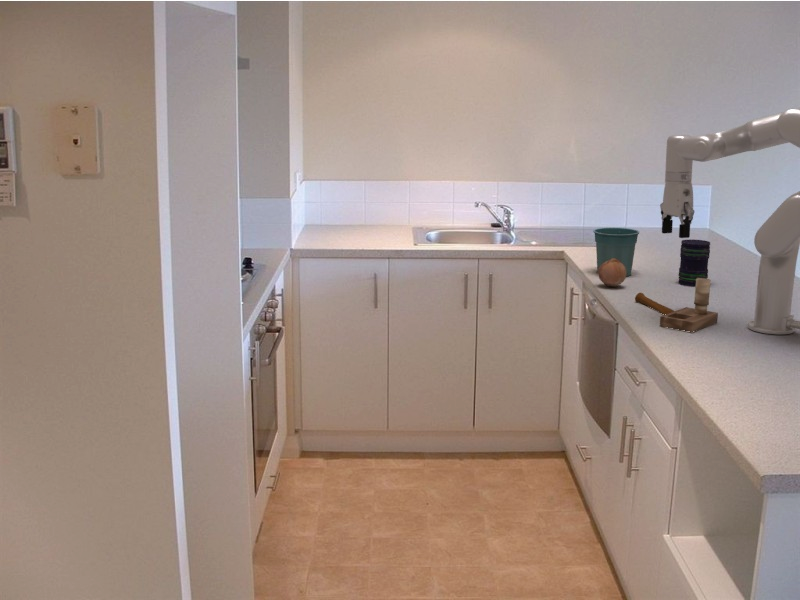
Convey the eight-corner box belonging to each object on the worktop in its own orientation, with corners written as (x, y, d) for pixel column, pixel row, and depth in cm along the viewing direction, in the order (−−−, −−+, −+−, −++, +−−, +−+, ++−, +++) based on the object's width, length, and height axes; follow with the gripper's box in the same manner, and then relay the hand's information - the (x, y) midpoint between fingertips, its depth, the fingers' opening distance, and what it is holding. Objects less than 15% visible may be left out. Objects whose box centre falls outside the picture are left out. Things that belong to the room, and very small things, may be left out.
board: (717, 322, 278) (718, 312, 277) (692, 332, 266) (693, 322, 265) (685, 316, 284) (686, 307, 284) (659, 326, 273) (660, 316, 272)
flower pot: (607, 280, 336) (609, 235, 332) (582, 271, 351) (584, 228, 347) (645, 277, 342) (649, 233, 338) (619, 268, 357) (622, 226, 353)
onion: (616, 283, 331) (618, 255, 328) (630, 289, 322) (632, 260, 320) (592, 285, 328) (593, 256, 325) (606, 290, 319) (608, 261, 317)
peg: (710, 313, 276) (713, 279, 274) (704, 315, 274) (706, 281, 271) (697, 310, 279) (699, 277, 277) (690, 313, 276) (693, 279, 274)
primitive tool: (681, 315, 287) (681, 304, 286) (666, 317, 285) (666, 306, 284) (643, 302, 304) (643, 291, 304) (628, 303, 303) (629, 293, 302)
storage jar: (713, 284, 330) (716, 242, 326) (694, 288, 324) (698, 245, 321) (690, 279, 338) (693, 238, 334) (671, 282, 332) (674, 240, 329)
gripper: (706, 179, 270) (702, 238, 274) (674, 175, 287) (671, 231, 290) (682, 180, 269) (679, 240, 272) (652, 175, 285) (649, 232, 289)
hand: (675, 235), depth 281 cm, fingers open, 9 cm apart
